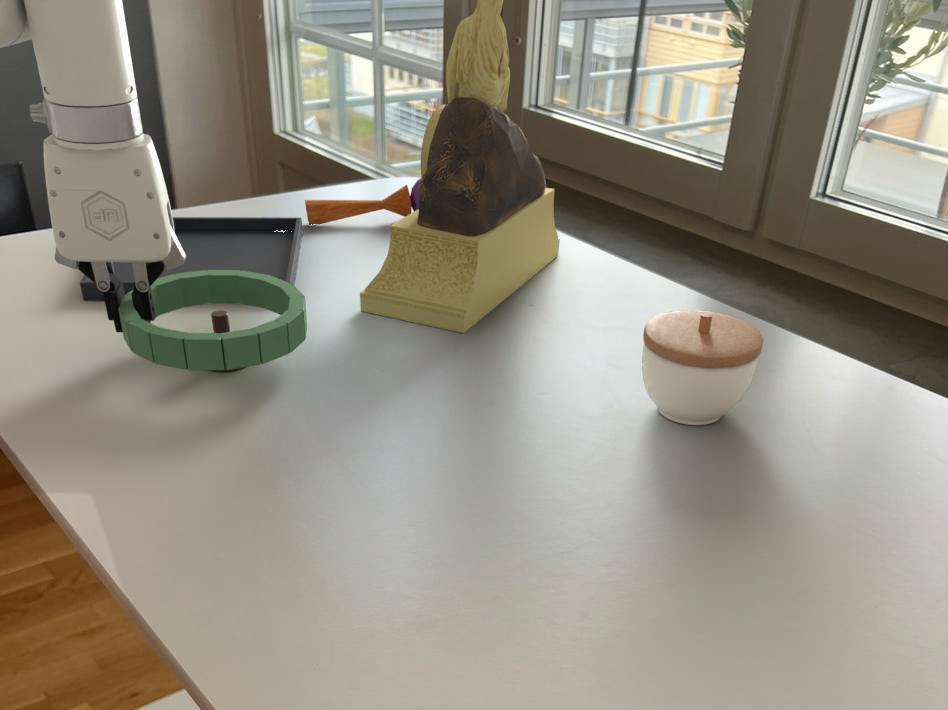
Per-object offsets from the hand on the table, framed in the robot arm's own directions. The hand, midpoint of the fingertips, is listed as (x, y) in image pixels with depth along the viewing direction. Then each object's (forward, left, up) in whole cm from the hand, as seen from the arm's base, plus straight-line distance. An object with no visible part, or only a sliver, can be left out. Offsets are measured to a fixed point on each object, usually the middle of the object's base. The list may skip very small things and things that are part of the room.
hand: (133, 325), depth 97 cm
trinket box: (+53, -12, -4) cm, 55 cm away
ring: (+8, 0, -1) cm, 8 cm away
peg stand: (+8, 0, -4) cm, 9 cm away
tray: (+2, +28, -4) cm, 28 cm away
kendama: (+24, +44, -4) cm, 50 cm away
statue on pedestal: (+34, +22, -4) cm, 41 cm away
